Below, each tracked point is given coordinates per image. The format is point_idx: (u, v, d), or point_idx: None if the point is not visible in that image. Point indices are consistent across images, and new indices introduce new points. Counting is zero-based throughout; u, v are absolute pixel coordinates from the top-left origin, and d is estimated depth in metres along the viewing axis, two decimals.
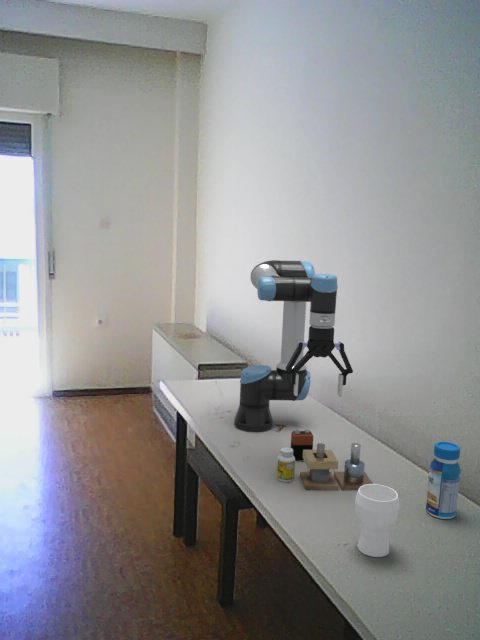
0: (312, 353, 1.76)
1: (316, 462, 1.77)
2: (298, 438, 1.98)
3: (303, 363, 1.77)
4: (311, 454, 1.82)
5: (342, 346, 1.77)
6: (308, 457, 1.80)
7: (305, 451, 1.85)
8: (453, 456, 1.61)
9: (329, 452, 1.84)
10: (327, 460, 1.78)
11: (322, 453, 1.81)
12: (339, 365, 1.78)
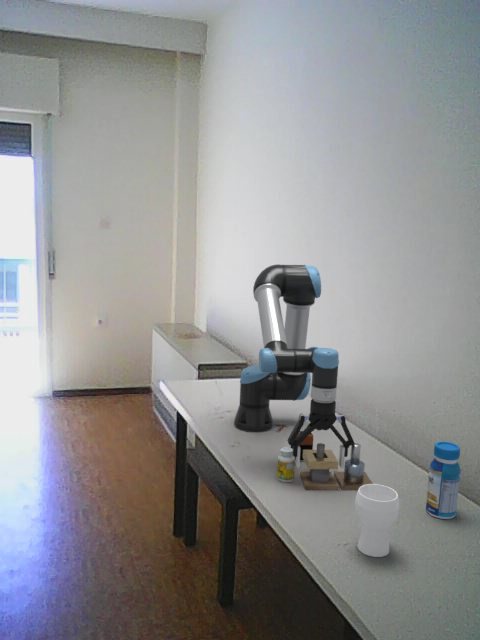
0: (314, 426, 1.78)
1: (316, 462, 1.77)
2: None
3: (305, 436, 1.79)
4: (311, 454, 1.82)
5: (343, 419, 1.79)
6: (308, 457, 1.80)
7: (305, 451, 1.85)
8: (453, 456, 1.61)
9: (329, 452, 1.84)
10: (327, 460, 1.78)
11: (322, 453, 1.81)
12: (341, 437, 1.80)
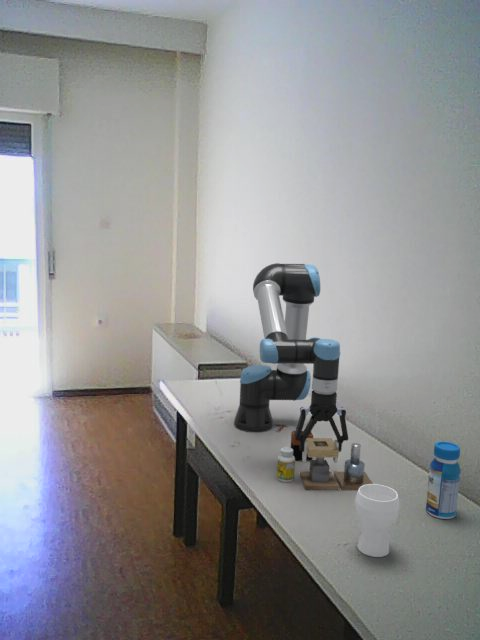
0: (316, 418, 1.78)
1: (316, 450, 1.77)
2: None
3: (309, 430, 1.79)
4: (312, 442, 1.82)
5: (344, 413, 1.79)
6: (309, 445, 1.80)
7: (306, 439, 1.84)
8: (453, 456, 1.61)
9: (330, 441, 1.84)
10: (328, 448, 1.78)
11: None
12: (337, 432, 1.80)
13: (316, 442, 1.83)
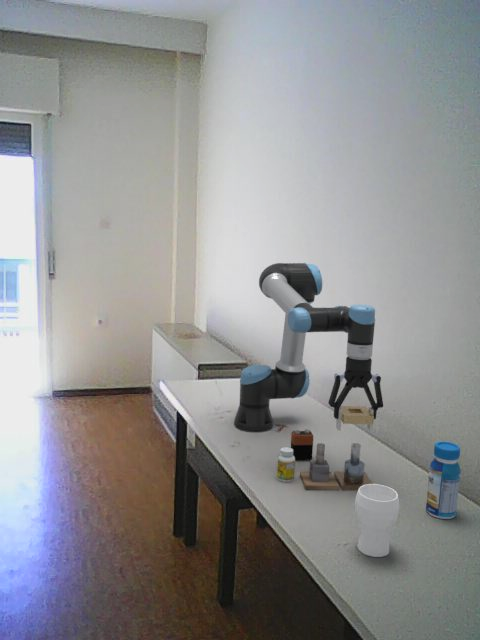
0: (351, 385, 1.77)
1: (352, 416, 1.76)
2: (298, 438, 1.98)
3: (344, 396, 1.78)
4: (346, 410, 1.81)
5: (379, 379, 1.78)
6: (343, 412, 1.78)
7: None
8: (453, 456, 1.61)
9: (364, 408, 1.82)
10: (363, 415, 1.76)
11: (322, 453, 1.81)
12: (371, 398, 1.78)
13: (350, 410, 1.82)
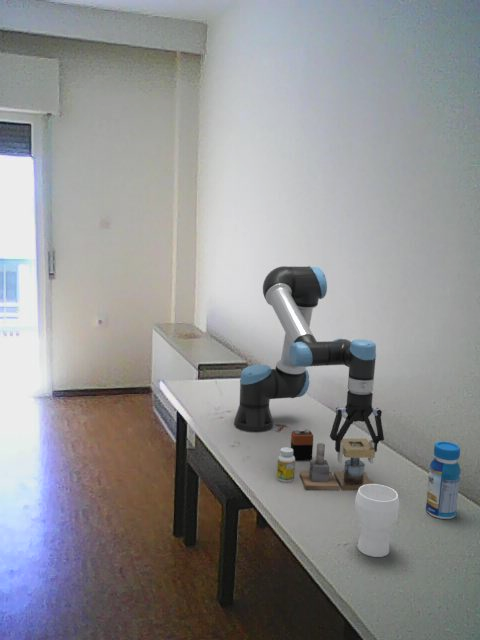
0: (352, 419, 1.79)
1: (353, 450, 1.77)
2: (298, 438, 1.98)
3: (345, 430, 1.80)
4: (347, 443, 1.83)
5: (380, 413, 1.80)
6: (345, 445, 1.80)
7: None
8: (453, 456, 1.61)
9: (365, 441, 1.84)
10: (364, 448, 1.78)
11: (322, 453, 1.81)
12: (372, 432, 1.81)
13: (351, 442, 1.84)
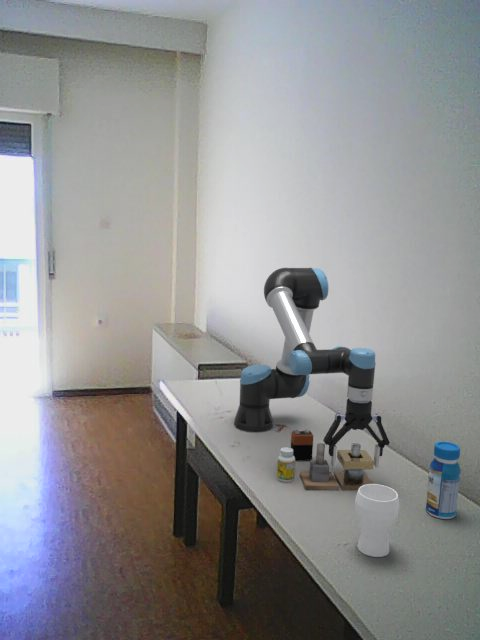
0: (350, 426, 1.79)
1: (352, 462, 1.78)
2: (298, 438, 1.98)
3: (341, 436, 1.80)
4: (346, 454, 1.83)
5: (379, 419, 1.80)
6: (344, 457, 1.81)
7: (340, 451, 1.85)
8: (453, 456, 1.61)
9: (364, 452, 1.85)
10: (363, 460, 1.79)
11: (322, 453, 1.81)
12: (376, 437, 1.81)
13: (350, 454, 1.85)
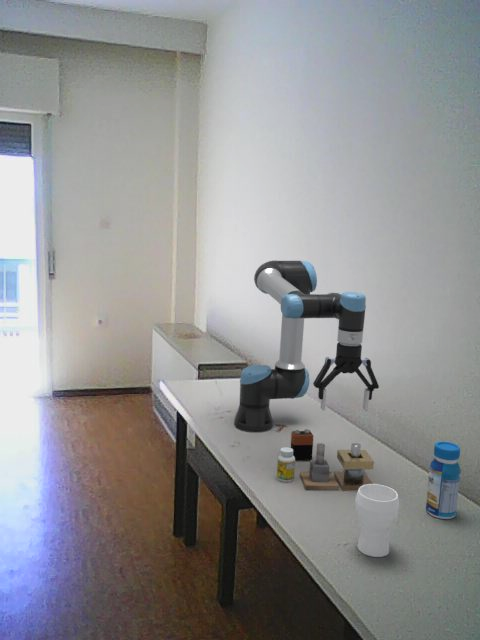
0: (340, 369, 1.81)
1: (352, 462, 1.78)
2: (298, 438, 1.98)
3: (331, 379, 1.81)
4: (346, 454, 1.83)
5: (369, 362, 1.82)
6: (344, 457, 1.81)
7: (340, 451, 1.85)
8: (453, 456, 1.61)
9: (364, 452, 1.85)
10: (363, 460, 1.79)
11: (322, 453, 1.81)
12: (366, 381, 1.83)
13: (350, 454, 1.85)
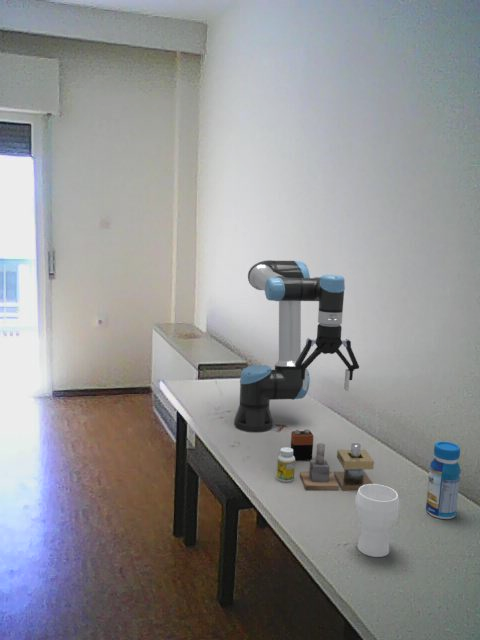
0: (320, 350, 1.86)
1: (352, 462, 1.78)
2: (298, 438, 1.98)
3: (312, 359, 1.87)
4: (346, 454, 1.83)
5: (349, 343, 1.87)
6: (344, 457, 1.81)
7: (340, 451, 1.85)
8: (453, 456, 1.61)
9: (364, 452, 1.85)
10: (363, 460, 1.79)
11: (322, 453, 1.81)
12: (346, 361, 1.88)
13: (350, 454, 1.85)
